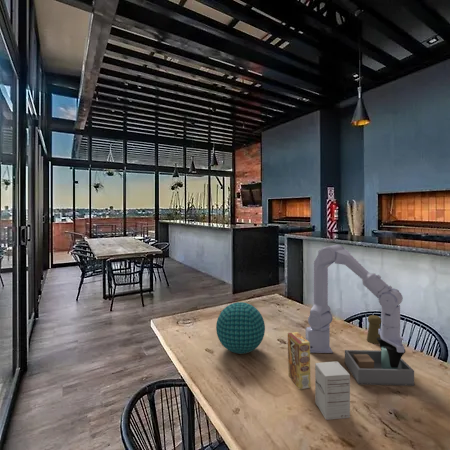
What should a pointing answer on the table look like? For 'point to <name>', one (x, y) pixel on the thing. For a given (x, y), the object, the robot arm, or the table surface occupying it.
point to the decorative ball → (240, 328)
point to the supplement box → (332, 390)
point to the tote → (379, 370)
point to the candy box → (299, 360)
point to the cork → (373, 329)
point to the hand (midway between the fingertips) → (390, 362)
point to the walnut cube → (364, 361)
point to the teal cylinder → (385, 359)
